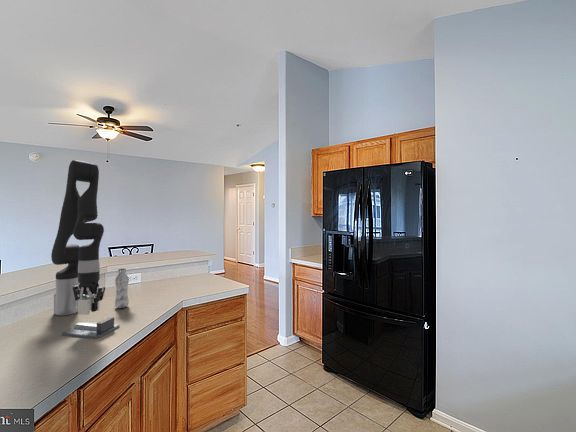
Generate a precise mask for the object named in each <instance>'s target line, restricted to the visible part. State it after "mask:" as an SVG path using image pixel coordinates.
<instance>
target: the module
mask: <svg viewBox="0 0 576 432" xmlns="http://www.w3.org/2000/svg"><path fill="white" fill-rule="evenodd" d="M94 299H95V297H94ZM91 303H92V302H91V298H89V295H88V296H87V297H83V298H82V299H79V300H78V312H77V315H83V316H84V315H87V316H88V315H90V312H91ZM97 311H100V301H98V309H97ZM97 311H96V312H97Z"/></svg>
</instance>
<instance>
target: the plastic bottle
mask: <svg viewBox="0 0 576 432" xmlns="http://www.w3.org/2000/svg"><path fill="white" fill-rule="evenodd" d="M129 282H130V278H129V276H128V274H127V268H118V269H117V276H116V277H115V278H114V284H115V300H114V307H115V309H124V308H127V307H128V306H129V304H130V301H129V295H128V293H129V292H128V291H129Z"/></svg>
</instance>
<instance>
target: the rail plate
mask: <svg viewBox="0 0 576 432" xmlns="http://www.w3.org/2000/svg"><path fill="white" fill-rule="evenodd" d="M73 325H74V326H73V327H72V328H69V329H68V330H65V331H63V332H62V334H61V336H68V337H77V338H87V339H99V338H101V337H103V336H106V335H107V334H109V333H111V332H113V331H114V330H116V329H118V328H120V324H117V323H115V317H113V316H109V317H108V318H106V319H103V320H100V321H98V322H94V321H85V322H77V323H75V324H73Z"/></svg>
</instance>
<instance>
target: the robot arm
mask: <svg viewBox="0 0 576 432" xmlns="http://www.w3.org/2000/svg"><path fill="white" fill-rule="evenodd" d="M99 170H100V169H99V166H98V165H97V164H96V163H94V162H93V163H92V162H88V161H82V160H76V159H73V160H71V161H70V163H69V165H68V170H67V171H68V172H67V179H66V186H65V187H66V188H65V194H64V197H63V202H62V207H61V212H60V218H59V223H58V228H57V233H56V237H55V240H54V244H53V246H52V249H51V257H50V259H51V262H52V264H54V265H57V266H59V265H60V266H61V265H67V266H65V268H63V269H60V270H59V271H57V272H56V273H55V293H54V294H53V314H55V316H68V315H69V316H70V315H73V314H76V313H78V300H79V299H82V298H84V297H87V296H89V298H91V302H92V303H91V310H90V312H92V313H94V312H97V309H98V301H99V302H101V301H102V300H103V299H104V296H105V295H104V294H105V291H106V287H105V286H100V284H99V281H100V273H101V271H100V254H99V253H100V246H101V245H100V244H101V241H102V239H103V236H104V232H105V227H104V226H103V224H102V223H101V222H93V221H95V220H97V218H98V205H97V204H98V202H97V199H98V189H99V179H100V176H99V175H100V174H99V173H100V171H99ZM77 182H82V183H89V185H88V187H87V189H86V190H85V191H84V192H83V193H82V195H80V193H79V191H78V188H77ZM72 236H73V237H74V239H76V240H79V241H86V240H87V241H88V240H93V241H92V242H91V243H88V244H86V245H85V244H84V245H81V246H80V245H78V244H76V243H75V244H68V242H69V241H70V238H71V237H72ZM94 297H95V299H94Z"/></svg>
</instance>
